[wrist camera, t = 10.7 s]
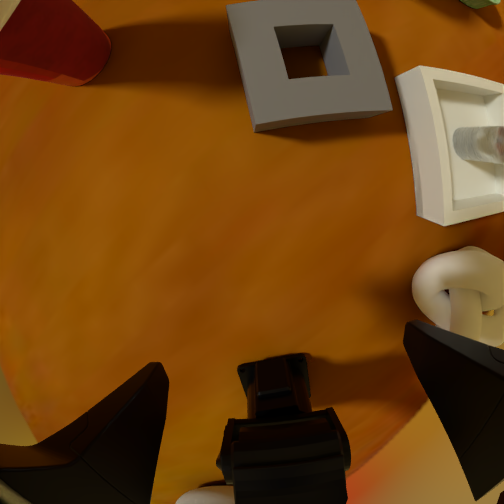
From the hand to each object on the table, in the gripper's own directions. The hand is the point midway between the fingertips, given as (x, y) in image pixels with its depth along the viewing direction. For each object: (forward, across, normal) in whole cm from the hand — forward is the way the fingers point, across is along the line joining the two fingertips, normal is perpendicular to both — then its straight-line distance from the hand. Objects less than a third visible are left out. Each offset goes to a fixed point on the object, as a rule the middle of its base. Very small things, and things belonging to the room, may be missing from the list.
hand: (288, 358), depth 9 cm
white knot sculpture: (+13, -17, +7) cm, 23 cm away
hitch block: (+13, -5, -14) cm, 19 cm away
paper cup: (+13, +13, -20) cm, 27 cm away
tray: (+13, -19, -7) cm, 24 cm away
